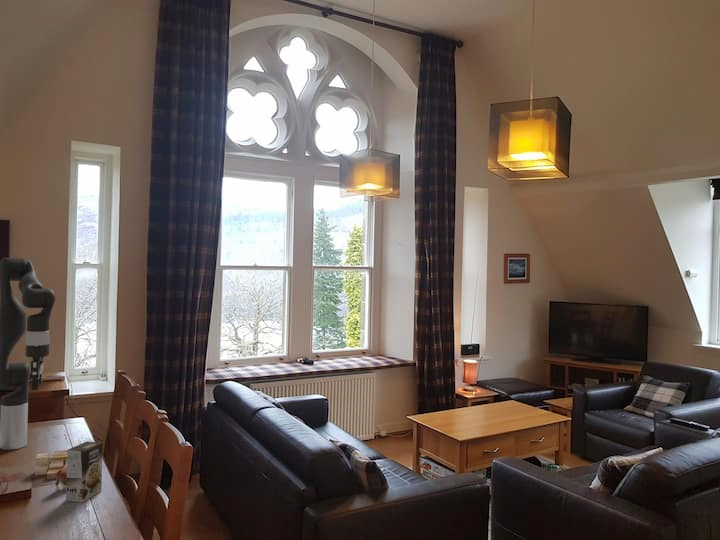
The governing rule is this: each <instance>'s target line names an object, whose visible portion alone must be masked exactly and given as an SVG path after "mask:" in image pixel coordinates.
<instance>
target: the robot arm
mask: <svg viewBox="0 0 720 540" xmlns="http://www.w3.org/2000/svg"><path fill="white" fill-rule="evenodd" d="M11 282H18V289H19V291H20V292H21V294H22V297H21V302H22V304H21V302H20V301H19V300H18V298H17V297H16V295H15V293H14V291H13V289H12V286H11V285H12V284H11ZM55 302H56V293H55V292H54V289H51V288H44V287H43V285H42V283H41V282H40V280H39V279H38V277H37V274H36V271H35V268H34V265H33V263H32V262H31V260H30V259H28V258H21V257H20V258H19V257H18V258H17V257H14V258H13V257H3V258H1V259H0V388H12V387H18V388H17V389H16V390H14V391H12V392H10V393H8V394H5V395H3V396H2V397H1V399H0V450H7V451H9V450H18V449H22V448H25V447H26V446H27V445H28V415H29V412H28V411H29V384H30V380H31V386H30V387H31V388H30V389H31V391H38V390H39V386H41V385H42V381H43V380H42V379H43V376H42V375H43V371H44V368H45V367H44V363H45V361H44V358H45V357H48V356H49V355H50V338H51V337H50V319H51V314H52V311H53V307H54V306H55V304H56V303H55ZM23 306H24V307H25V308H28V309H41V311H40V312H38V313H35V314H31V315H28V316H27V312H26V309H25V308H24V307H23ZM25 332H26V335H25V352H24V353H25V354H24V355H25V357H26V358H32V360H31V361H30V364H29V363H28V362H13V363H11V362H10V363H8V361H9V358H10V355H11V353H12V351H13V349H14V348H15V347H16V345H17V344H18V342H20V340H21V339H22V337H23V336H24V334H25Z"/></svg>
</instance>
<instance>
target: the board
mask: <svg viewBox="0 0 720 540" xmlns="http://www.w3.org/2000/svg"><path fill="white" fill-rule="evenodd" d="M66 455H68V449H67V450H56V451H55V450H54V451H53V453H52V456H51V457H56V456H66ZM65 467H67V460H66V465H63V460H61V461H51V462H50V463H49V465H48V472H47V474H46V480H47V479H49V480H56V479H55V478H56V477H55V475H56V473H57V471H59V470H60V469H62V468H65Z"/></svg>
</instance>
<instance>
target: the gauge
mask: <svg viewBox="0 0 720 540" xmlns="http://www.w3.org/2000/svg"><path fill="white" fill-rule="evenodd" d="M67 457H68V455H66V456H56V457H52V456H49V453H38V454H36V456H35V464H34V465H35V466H34V467H35V469H34V470H35V472H34V473H35V474H34V476H41V475H42V476H43V475H47V472H48V469H49V462H50V463H51V461H61V460H63V465H66V460H67Z"/></svg>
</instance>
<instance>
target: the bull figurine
mask: <svg viewBox="0 0 720 540" xmlns="http://www.w3.org/2000/svg"><path fill="white" fill-rule="evenodd" d="M55 477H56V479H55V481H56V482H55V483H54V485H55V491H56V490H57V492H59V491H60V488H59V484H60V485H61V488H62V489H64V488H66V481H67V467H65V468H62V469H60V470H59V471H57V473H56V475H55ZM58 490H59V491H58Z"/></svg>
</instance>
